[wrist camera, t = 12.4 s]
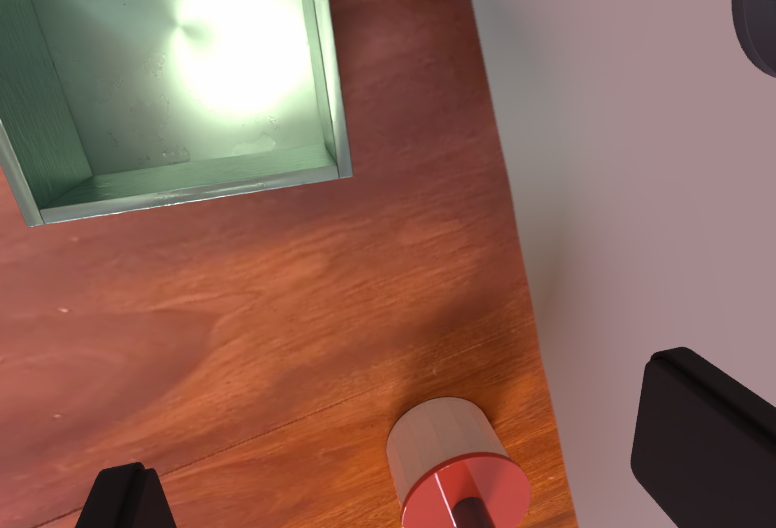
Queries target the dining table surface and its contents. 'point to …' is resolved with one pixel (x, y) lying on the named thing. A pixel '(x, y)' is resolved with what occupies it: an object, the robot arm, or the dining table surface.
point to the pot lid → (469, 494)
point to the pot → (436, 439)
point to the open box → (165, 102)
